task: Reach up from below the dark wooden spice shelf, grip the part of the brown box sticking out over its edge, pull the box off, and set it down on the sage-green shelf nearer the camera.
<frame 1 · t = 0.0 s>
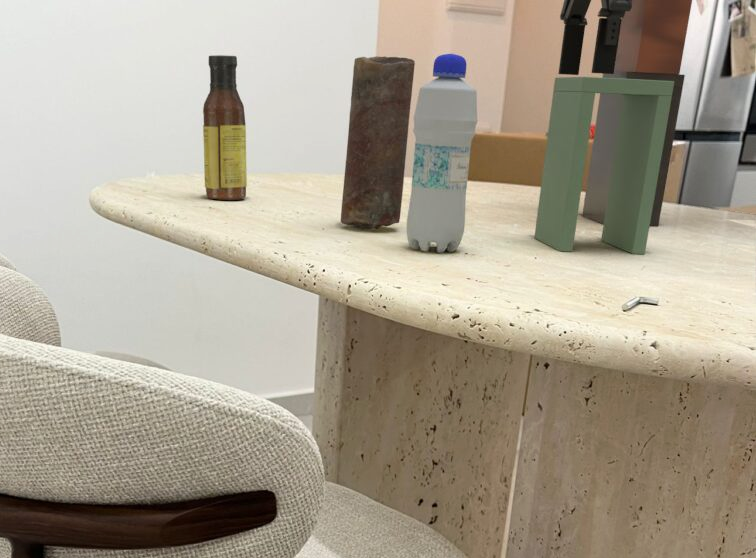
hand: (584, 74, 129), 19 cm above the table, tool pointing down, fingers open, 13 cm apart
green shelf: (587, 245, 112), on the table
bottle: (433, 251, 104), on the table
candle: (370, 230, 118), on the table
sauce bottle: (224, 200, 142), on the table
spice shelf: (619, 221, 138), on the table
brown box: (645, 73, 130), point 20 cm above the table, touching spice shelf
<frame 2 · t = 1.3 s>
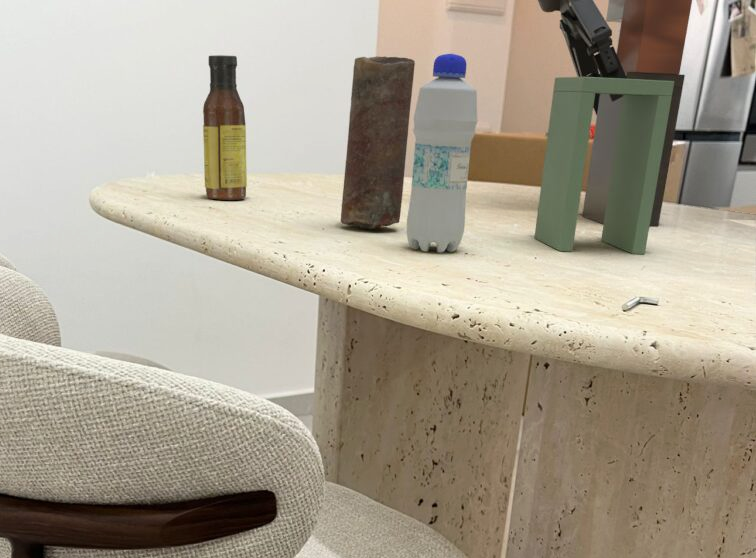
hand: (616, 111, 133), 15 cm above the table, tool tilted 35°, fingers open, 13 cm apart
nothing on the table moved.
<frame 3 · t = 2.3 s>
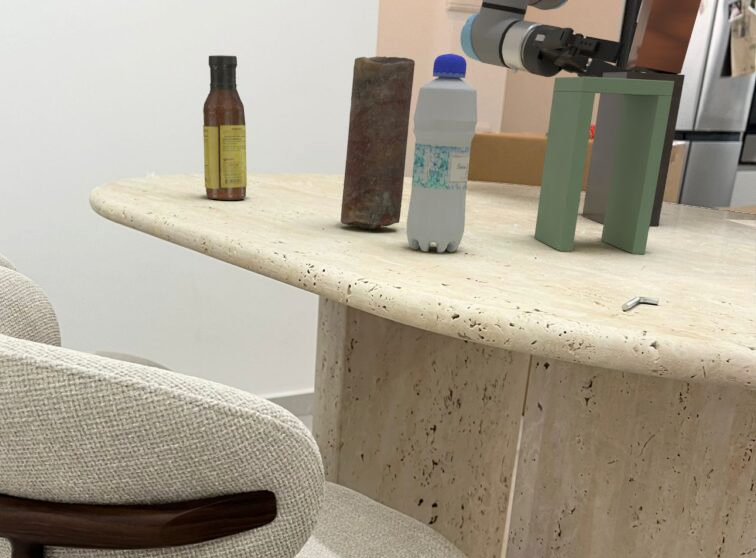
hand: (643, 71, 138), 21 cm above the table, tool horizontal, fingers open, 13 cm apart
brown box: (652, 71, 130), point 20 cm above the table, tilted 7°, touching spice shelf
everything else where it was.
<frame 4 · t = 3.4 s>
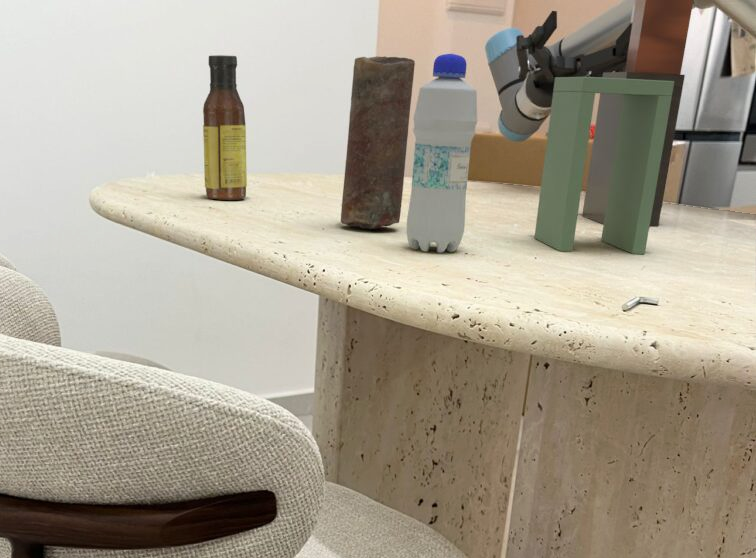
hand: (596, 23, 148), 28 cm above the table, tool pointing upward, fingers open, 13 cm apart
brown box: (651, 74, 130), point 20 cm above the table, touching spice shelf
everything else where it was.
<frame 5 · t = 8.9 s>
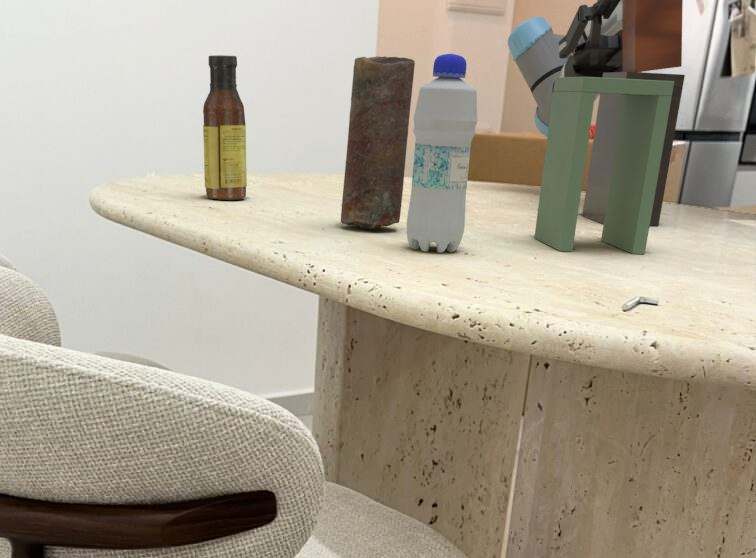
brown box: (651, 70, 130), point 20 cm above the table, tilted 9°, touching gripper, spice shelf
everything else where it was.
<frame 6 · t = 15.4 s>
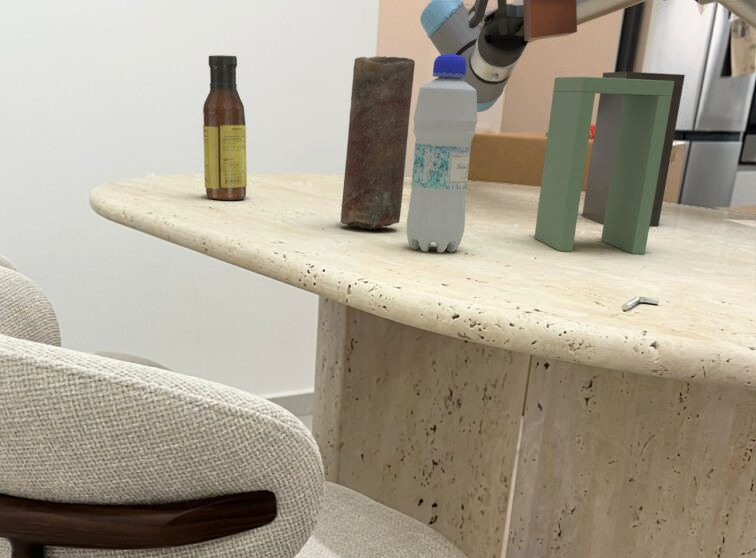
brown box: (550, 36, 130), point 24 cm above the table, tilted 9°, touching gripper
everything else where it was.
when the fingers open (30 cm above the table, at t = 21.7 s): brown box stays where it is, resting on green shelf.
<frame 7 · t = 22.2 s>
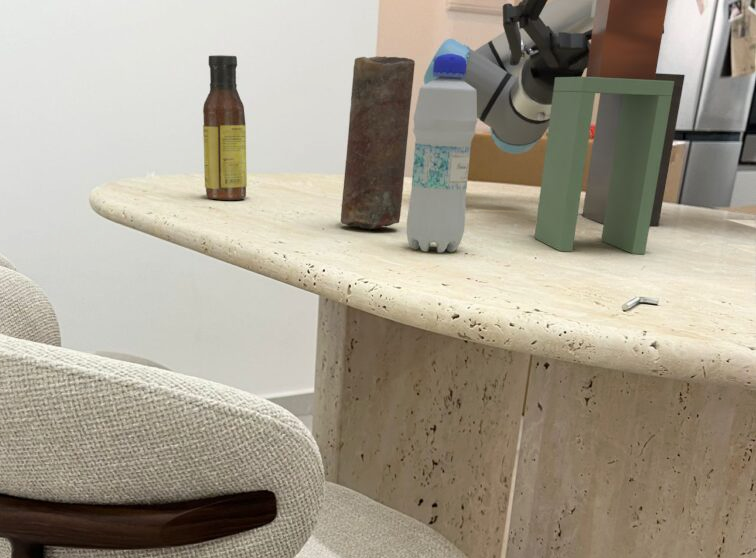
brown box: (618, 79, 106), point 18 cm above the table, touching green shelf
everything else where it was.
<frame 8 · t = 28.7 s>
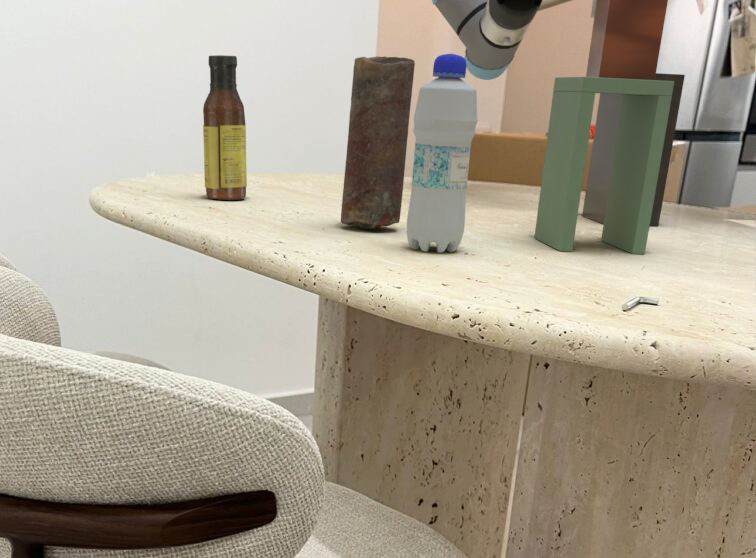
nothing on the table moved.
at the end: brown box inside the target area on the green shelf (1.2 cm from its centre), point 18.5 cm above the green shelf's base; brown box tilted 0°; the gripper is holding nothing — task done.
